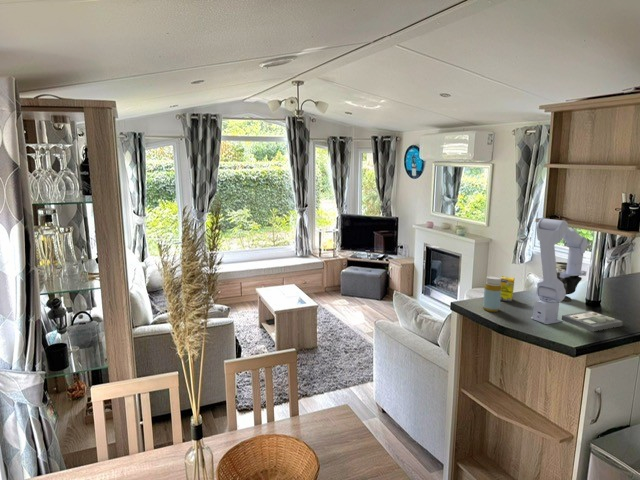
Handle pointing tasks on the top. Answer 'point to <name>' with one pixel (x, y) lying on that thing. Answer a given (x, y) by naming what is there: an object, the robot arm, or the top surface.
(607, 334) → the top surface
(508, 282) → the supplement box
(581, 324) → the button board
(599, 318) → the middle button
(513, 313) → the top surface
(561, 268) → the apothecary jar
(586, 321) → the left button
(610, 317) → the right button
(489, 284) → the bottle
